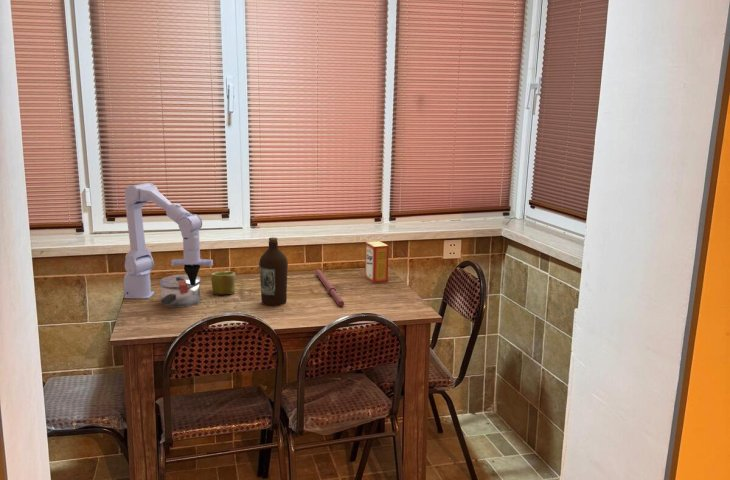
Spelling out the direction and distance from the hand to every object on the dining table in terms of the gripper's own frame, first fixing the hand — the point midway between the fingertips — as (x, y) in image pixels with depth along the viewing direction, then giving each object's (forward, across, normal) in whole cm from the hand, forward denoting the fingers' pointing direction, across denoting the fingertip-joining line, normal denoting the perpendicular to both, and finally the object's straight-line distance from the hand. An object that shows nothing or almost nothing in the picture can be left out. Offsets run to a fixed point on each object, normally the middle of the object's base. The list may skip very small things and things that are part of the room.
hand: (193, 284), depth 236 cm
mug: (+9, -8, -19) cm, 23 cm away
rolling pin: (+9, -49, -22) cm, 55 cm away
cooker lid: (+1, +5, -4) cm, 7 cm away
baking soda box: (+9, -70, -38) cm, 80 cm away
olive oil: (+9, -29, -6) cm, 31 cm away
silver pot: (+9, +7, -4) cm, 12 cm away
